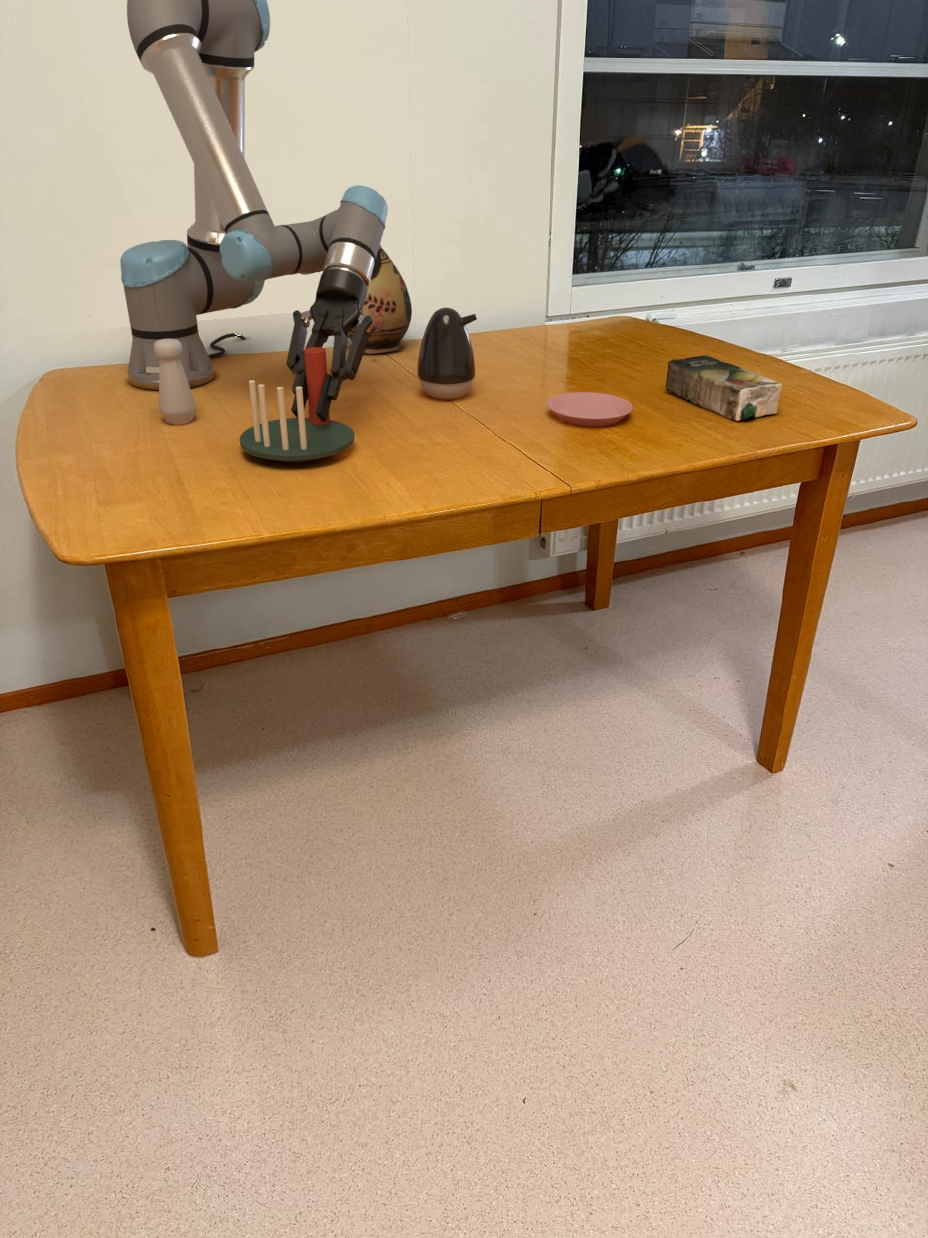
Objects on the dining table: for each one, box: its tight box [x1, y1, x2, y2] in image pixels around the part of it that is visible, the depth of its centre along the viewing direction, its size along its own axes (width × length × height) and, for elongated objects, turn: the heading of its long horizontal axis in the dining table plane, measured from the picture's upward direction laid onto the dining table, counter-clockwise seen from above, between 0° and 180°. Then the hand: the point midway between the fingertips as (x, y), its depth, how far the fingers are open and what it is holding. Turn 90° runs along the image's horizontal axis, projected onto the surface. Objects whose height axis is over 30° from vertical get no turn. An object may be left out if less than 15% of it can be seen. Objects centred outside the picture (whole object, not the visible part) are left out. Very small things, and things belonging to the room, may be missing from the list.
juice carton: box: [665, 354, 783, 422], centre depth 160 cm, size 20×10×6 cm, turn 29°
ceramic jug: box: [349, 244, 413, 355], centre depth 183 cm, size 17×15×30 cm
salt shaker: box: [154, 339, 197, 426], centre depth 147 cm, size 6×6×13 cm
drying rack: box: [239, 347, 355, 462], centre depth 135 cm, size 17×17×13 cm
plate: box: [546, 391, 634, 427], centre depth 154 cm, size 14×14×2 cm
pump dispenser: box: [416, 307, 478, 401], centre depth 160 cm, size 10×10×15 cm
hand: (308, 415), depth 139 cm, fingers closed on drying rack, 3 cm apart
